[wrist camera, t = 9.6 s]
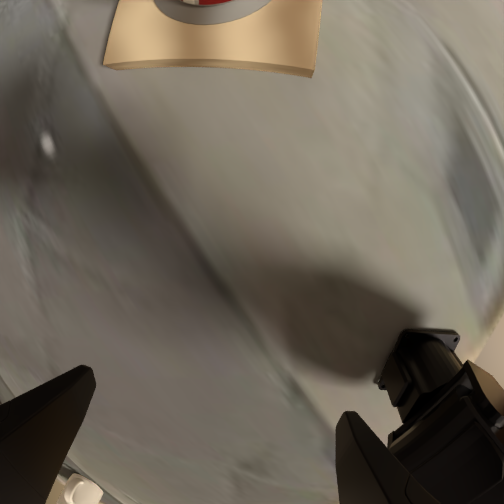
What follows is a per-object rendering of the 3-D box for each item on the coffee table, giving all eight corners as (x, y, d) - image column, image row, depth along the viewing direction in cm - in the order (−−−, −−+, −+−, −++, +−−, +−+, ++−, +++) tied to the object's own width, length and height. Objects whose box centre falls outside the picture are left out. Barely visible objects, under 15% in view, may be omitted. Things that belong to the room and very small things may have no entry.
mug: (94, 527, 34) (63, 512, 34) (107, 498, 43) (78, 484, 43) (79, 512, 30) (45, 493, 30) (96, 478, 39) (63, 462, 39)
